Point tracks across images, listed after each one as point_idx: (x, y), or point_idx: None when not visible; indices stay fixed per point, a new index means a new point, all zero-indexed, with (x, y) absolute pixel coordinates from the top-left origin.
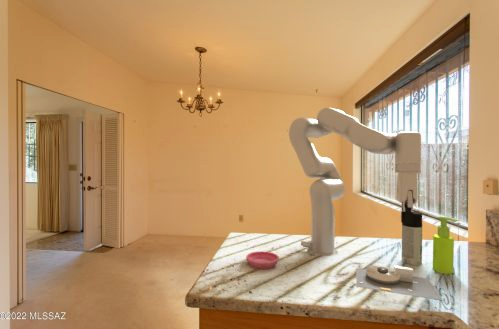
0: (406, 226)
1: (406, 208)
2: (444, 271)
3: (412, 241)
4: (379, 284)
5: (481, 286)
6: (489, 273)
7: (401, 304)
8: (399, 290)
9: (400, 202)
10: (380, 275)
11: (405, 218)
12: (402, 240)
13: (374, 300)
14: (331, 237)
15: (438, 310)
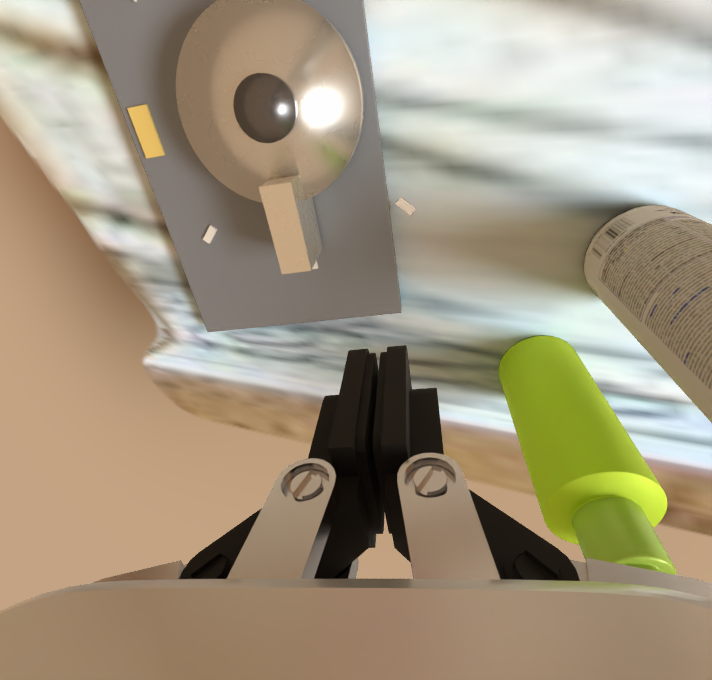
0: None
1: (215, 546)
2: (502, 381)
3: (653, 323)
4: None
5: (451, 451)
6: None
7: (109, 196)
8: (182, 192)
9: (39, 595)
10: (196, 100)
11: (321, 416)
12: None
13: (54, 84)
14: None
15: (161, 307)
